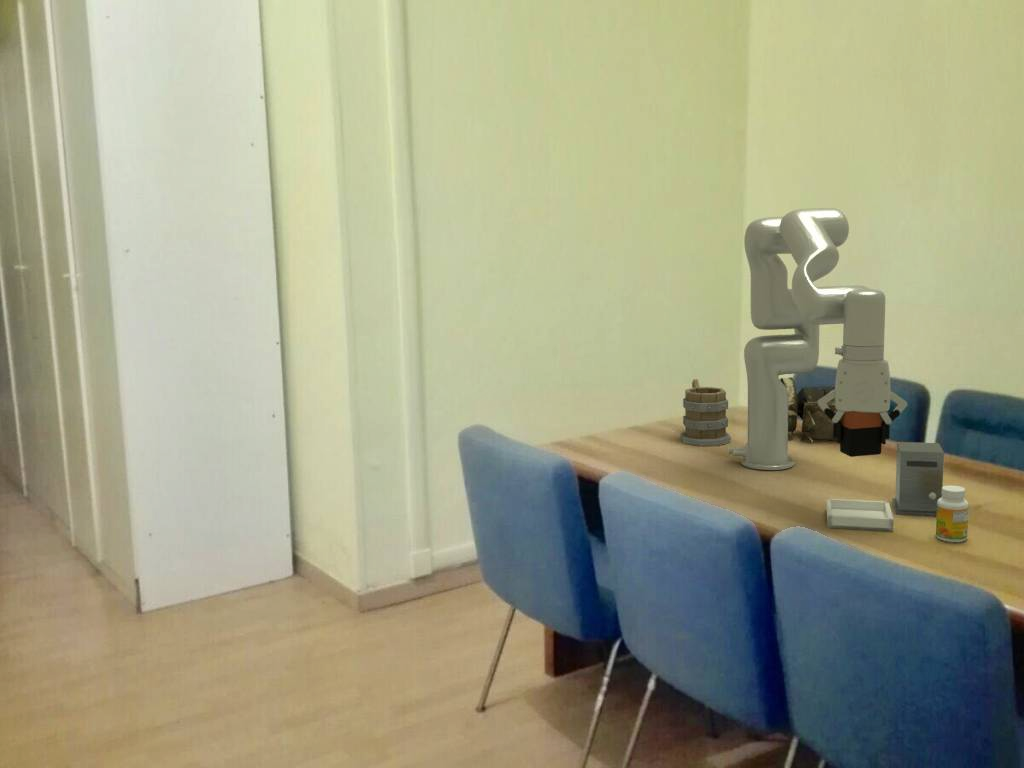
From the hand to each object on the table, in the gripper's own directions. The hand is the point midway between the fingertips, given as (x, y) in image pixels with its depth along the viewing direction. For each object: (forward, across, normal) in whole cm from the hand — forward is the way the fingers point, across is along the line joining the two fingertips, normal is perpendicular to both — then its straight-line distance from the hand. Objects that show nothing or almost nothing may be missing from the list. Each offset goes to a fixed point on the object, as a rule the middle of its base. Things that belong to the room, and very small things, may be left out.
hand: (860, 441), depth 193 cm
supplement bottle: (+16, +16, -8) cm, 24 cm away
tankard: (+16, -37, +67) cm, 78 cm away
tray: (+16, 0, 0) cm, 16 cm away
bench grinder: (+16, -6, +71) cm, 73 cm away
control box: (+16, +12, +10) cm, 22 cm away
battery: (+3, 0, 0) cm, 3 cm away
